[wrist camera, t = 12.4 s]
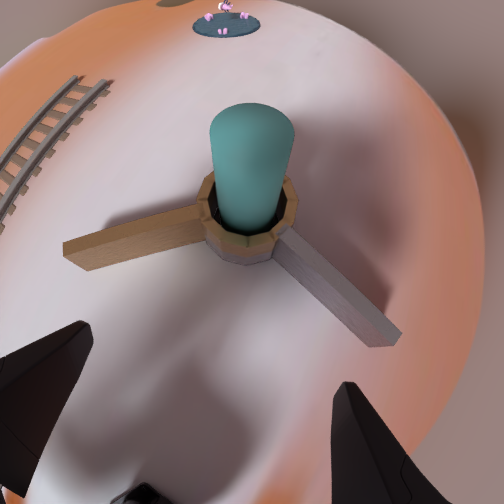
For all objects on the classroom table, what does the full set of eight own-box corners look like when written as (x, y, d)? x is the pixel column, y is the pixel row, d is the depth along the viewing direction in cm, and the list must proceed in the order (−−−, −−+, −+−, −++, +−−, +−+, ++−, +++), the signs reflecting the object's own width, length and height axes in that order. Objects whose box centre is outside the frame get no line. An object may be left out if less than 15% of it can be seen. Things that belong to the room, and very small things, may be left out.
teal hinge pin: (246, 258, 24) (252, 178, 13) (210, 224, 25) (192, 130, 14) (281, 224, 25) (311, 132, 14) (246, 193, 26) (251, 93, 15)
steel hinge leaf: (346, 375, 21) (368, 379, 17) (186, 223, 25) (177, 199, 21) (395, 310, 23) (422, 302, 19) (245, 174, 27) (247, 145, 23)
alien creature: (195, 16, 40) (193, -10, 34) (257, 15, 40) (259, -12, 34) (189, 41, 36) (186, 9, 30) (263, 39, 37) (266, 7, 30)
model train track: (116, 90, 32) (112, 80, 30) (-18, 283, 22) (-28, 278, 20) (73, 83, 33) (69, 74, 31) (-43, 244, 23) (-51, 239, 21)
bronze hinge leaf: (161, 364, 21) (144, 367, 17) (82, 263, 23) (57, 247, 19) (304, 224, 25) (316, 200, 21) (214, 149, 28) (211, 119, 24)
